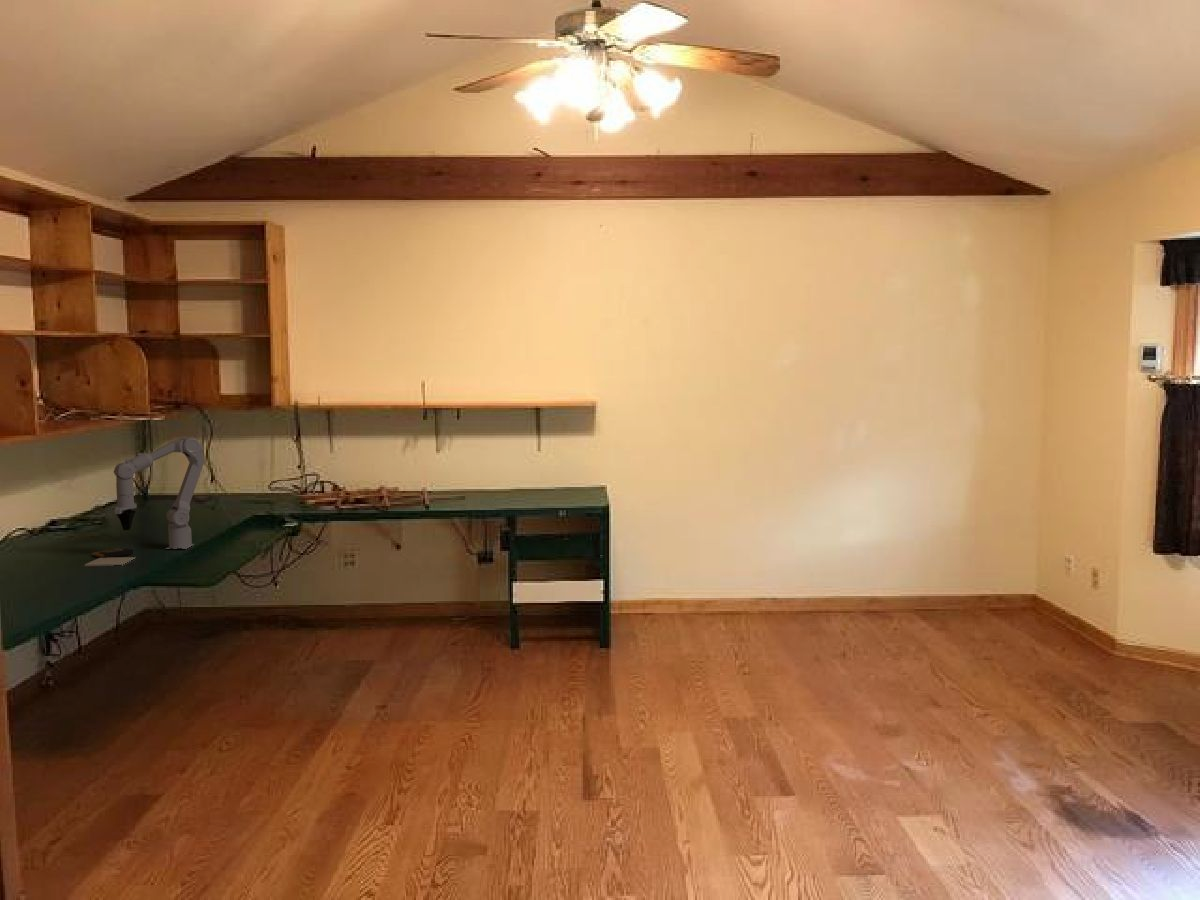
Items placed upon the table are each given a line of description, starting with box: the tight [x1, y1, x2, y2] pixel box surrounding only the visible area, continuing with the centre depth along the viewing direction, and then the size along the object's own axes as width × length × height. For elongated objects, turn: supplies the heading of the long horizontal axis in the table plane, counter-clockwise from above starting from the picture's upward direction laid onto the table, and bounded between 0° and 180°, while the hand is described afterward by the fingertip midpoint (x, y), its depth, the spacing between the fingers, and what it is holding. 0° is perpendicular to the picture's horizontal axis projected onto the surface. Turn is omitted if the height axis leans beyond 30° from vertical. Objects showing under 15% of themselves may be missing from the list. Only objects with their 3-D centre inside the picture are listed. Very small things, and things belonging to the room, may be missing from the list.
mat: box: [84, 556, 137, 567], centre depth 350 cm, size 12×13×1 cm
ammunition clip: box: [91, 548, 134, 558], centre depth 363 cm, size 11×2×12 cm
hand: (126, 529), depth 364 cm, fingers closed
